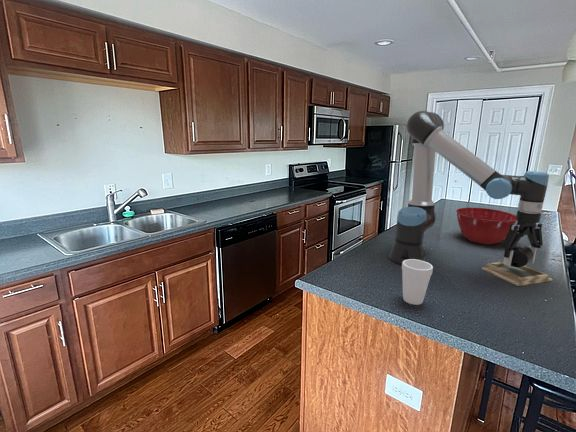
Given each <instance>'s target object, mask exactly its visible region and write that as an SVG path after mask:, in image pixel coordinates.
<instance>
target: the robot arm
mask: <svg viewBox="0 0 576 432" xmlns="http://www.w3.org/2000/svg"><path fill="white" fill-rule="evenodd" d="M444 128H445V123H444V120H443V118H442V117H441V116H440V115H439V114H438V113H436V112H434V111H433V112H432V111H427V110H420V111H417V112H415V113H413V114H412V115H411V116H410V117H409V118H408V120H407V121H406V130H407V133H408V134H409V136H410V137H411V138H412V139H411V144H412V145H413V146H414V161H413V173H412V174H413V175H412V176H413V177H412V189H411V190H412V191H411V193H412V194H411V199H410V200H409V201H407V202H408V203H407V206H404V207H402V208H400V209H399V210H398V212H397V216H396V227H395V228H396V229H395V238H394V242H393V245H392V246H391V247H392V248H391V250H390V251H389V254H388V255H389V256H388V257H389V260H391V261H392V262H394V263H396V264H399V265H402V262H403V261H404V260H408V259H416V260H422V261H425V260H426V257H425V251H424V248H423V247H424V246H423V243H424V235H425V232H426V231H428V230H429V229H430V228H433V226H434V224H435V223H436V220H437V213H436V211H435V206H436V205H435V204H436V203H435V202H434V201H433V199H432V198H433V190H434V189H433V187H434V186H433V185H434V177H435V176H434V174H435V162H436V154H438V155H440V157H443V159H445V160H446V161H447V162H449V163H450V164H451V165H453V167H455V168H456V169H457V170H459V171H460V172H461V173H463V174H464V175H465V176H467V177H468V178H469V180H471V181H473V183H476V184H477V185H478V186H479V187H480V188H481V189H483V191H485V193H486V194H487V195H488V197H489V198H492V199H493V200H501V199H504V198H506V197H508V196H509V195H512V196H520V197H519V200H518V206H517V212H516V214H515V215H516V220H517V221H516V224H515V225H513V224H511V225H510V229H509V231H508V233H507V235H506V237H505V238H504V239H503V240H502V243H501V246H500V247H501V249H504V254H503V261H502V262H503V264H505V265H507V266H511V261H512V256H513V250H512V249H513V248H514V246H517V243H518V242H519V241H520V240H521V238H524V236H527V239H528V241H529V244H530V245H529V246H528V247H529V248H530V249H531V250H532V252H533V256H532V258H531V259H530V260H529V262H528V263H530V264H534V263H535V260H536V254H537V251H538V249H541V248H542V246H543V244H544V243H543V233H542V232H543V231H542V227H543V224H542V223H540V220H541V216H542V215H541V213H542V211H543V206H544V202H545V197H546V194H547V189H548V186H549V185H548V184H549V178H550V176H549V175H550V174H549V173H547V172H546V171H545V172H544V171H537V170H536V171H531V170H529V171H525V172H524V174H523V175H512V174H511V175H509V174H501V173H500V172H498V171H497V170H495V168H493V167H491V166H490V165H489V164H487V163H486V162H485V161H484V160H482V159H481V158H479V157H478V156H477V155H476V154H474V153H473V152H472V151H470V150H469V149H467V148H466V147H465V146H464V145H462V144H461V143H460V142H458V141H457V140H455V138H453V137H452V136H451V135H450V134H448V133H446V132H445V131H444ZM425 262H426V261H425Z"/></svg>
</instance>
